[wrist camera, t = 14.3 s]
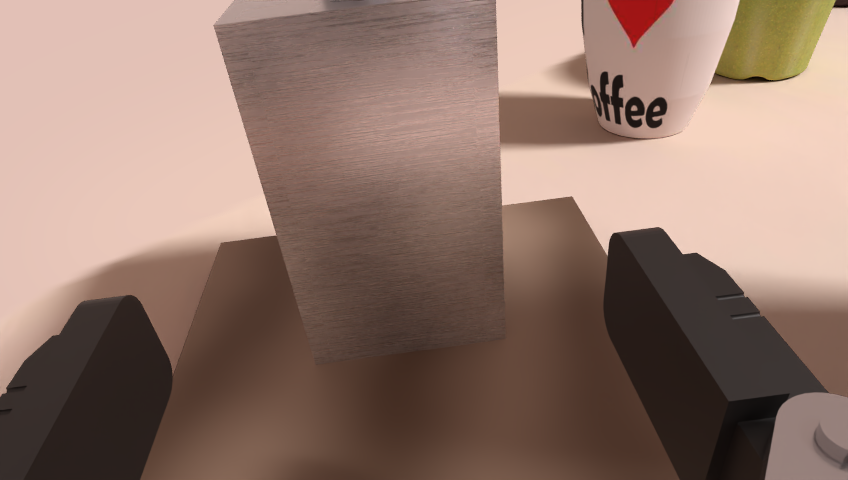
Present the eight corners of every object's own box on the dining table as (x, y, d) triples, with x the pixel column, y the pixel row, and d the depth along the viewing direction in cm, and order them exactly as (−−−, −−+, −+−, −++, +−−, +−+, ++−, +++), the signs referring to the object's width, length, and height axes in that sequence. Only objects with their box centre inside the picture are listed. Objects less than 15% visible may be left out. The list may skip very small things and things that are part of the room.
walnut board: (571, 214, 27) (572, 196, 26) (1003, 988, 9) (1037, 982, 8) (227, 260, 27) (221, 243, 26) (-67, 1149, 8) (-109, 1154, 8)
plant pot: (763, 104, 34) (803, -57, 29) (649, 65, 42) (665, -70, 37) (868, 68, 37) (921, -85, 32) (744, 37, 44) (771, -92, 39)
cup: (545, 116, 36) (548, -62, 30) (644, 84, 39) (665, -85, 33) (640, 165, 30) (667, -47, 24) (751, 123, 32) (798, -78, 27)
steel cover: (475, 233, 25) (454, -96, 18) (505, 338, 19) (493, -71, 12) (325, 253, 24) (246, -70, 18) (315, 364, 19) (196, -34, 12)
